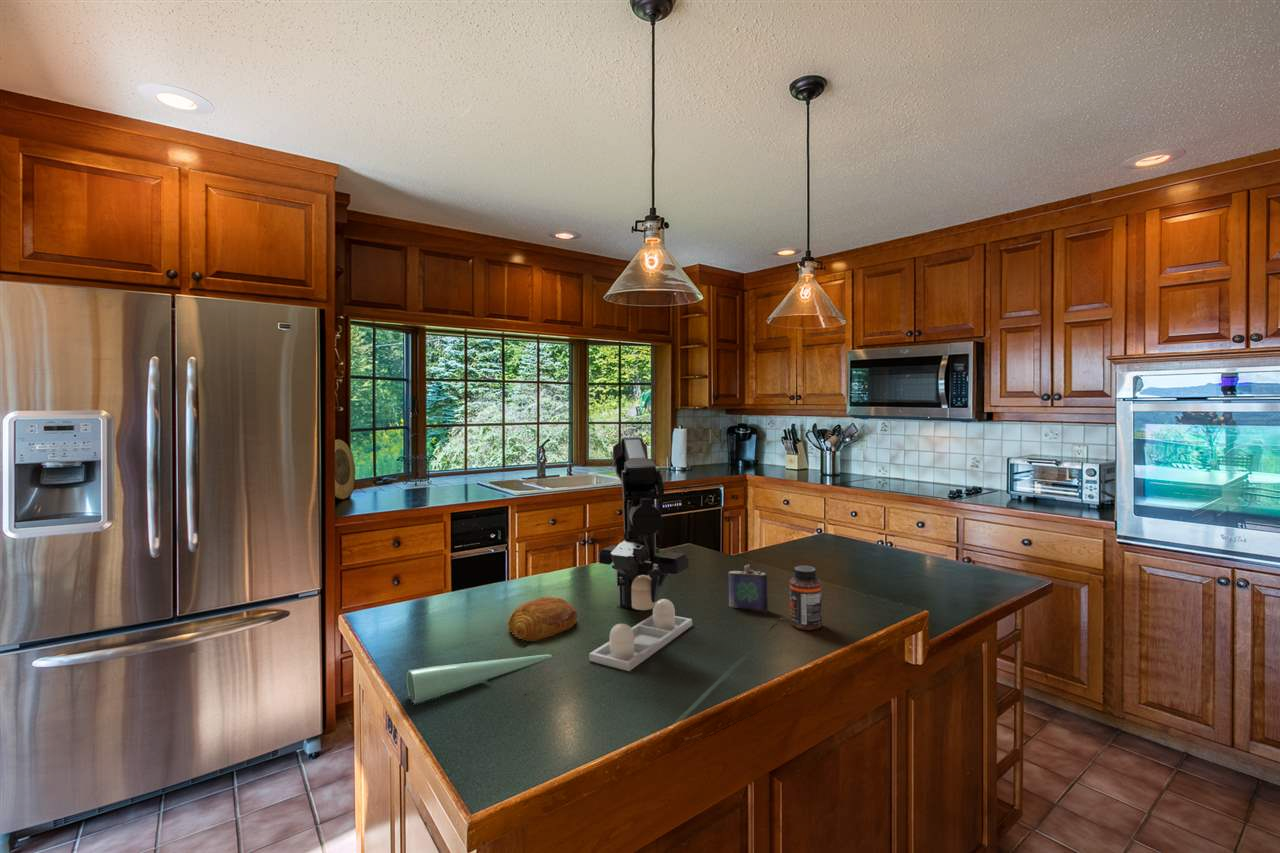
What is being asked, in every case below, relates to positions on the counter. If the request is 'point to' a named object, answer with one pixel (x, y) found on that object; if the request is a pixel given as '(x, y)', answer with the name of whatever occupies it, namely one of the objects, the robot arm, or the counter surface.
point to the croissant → (542, 618)
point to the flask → (748, 589)
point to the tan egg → (642, 593)
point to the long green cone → (461, 675)
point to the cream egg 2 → (664, 615)
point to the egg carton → (641, 643)
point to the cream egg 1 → (622, 642)
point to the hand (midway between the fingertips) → (643, 600)
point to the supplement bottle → (805, 599)
